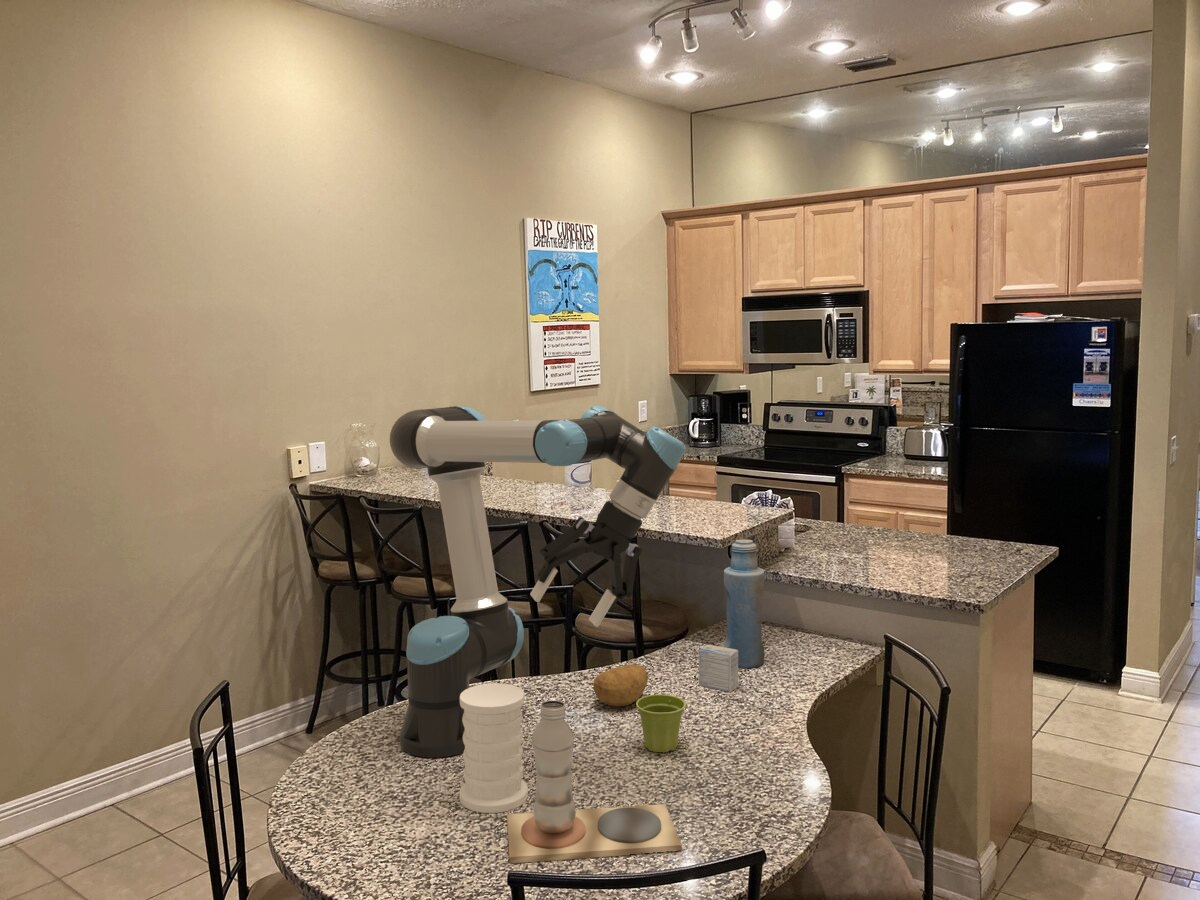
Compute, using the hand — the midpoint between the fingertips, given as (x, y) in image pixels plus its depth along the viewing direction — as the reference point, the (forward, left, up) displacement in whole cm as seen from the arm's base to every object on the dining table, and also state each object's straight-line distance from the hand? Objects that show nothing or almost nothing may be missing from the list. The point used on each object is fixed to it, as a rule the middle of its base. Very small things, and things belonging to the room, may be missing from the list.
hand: (564, 611), depth 169 cm
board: (+2, -24, -29) cm, 38 cm away
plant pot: (+19, +7, -29) cm, 36 cm away
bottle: (+48, +52, -29) cm, 76 cm away
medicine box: (+38, +37, -29) cm, 61 cm away
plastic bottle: (-4, -24, -28) cm, 37 cm away
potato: (+15, +30, -29) cm, 44 cm away
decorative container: (-13, -9, -29) cm, 34 cm away
